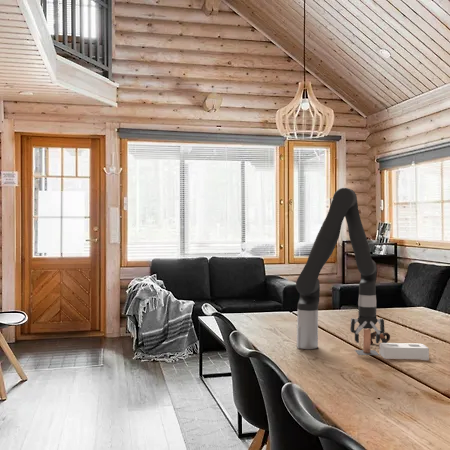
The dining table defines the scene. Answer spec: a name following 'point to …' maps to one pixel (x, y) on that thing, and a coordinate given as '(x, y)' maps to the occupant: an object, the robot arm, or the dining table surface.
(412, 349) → the socket block
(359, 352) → the mat
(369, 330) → the dowel
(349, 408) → the dining table surface
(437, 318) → the dining table surface
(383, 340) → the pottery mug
